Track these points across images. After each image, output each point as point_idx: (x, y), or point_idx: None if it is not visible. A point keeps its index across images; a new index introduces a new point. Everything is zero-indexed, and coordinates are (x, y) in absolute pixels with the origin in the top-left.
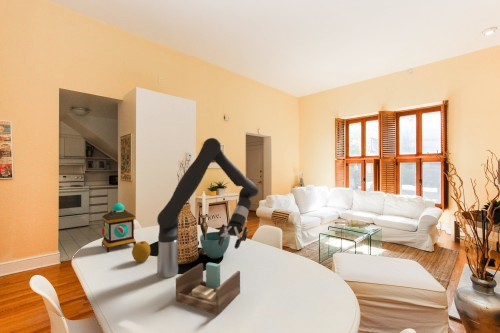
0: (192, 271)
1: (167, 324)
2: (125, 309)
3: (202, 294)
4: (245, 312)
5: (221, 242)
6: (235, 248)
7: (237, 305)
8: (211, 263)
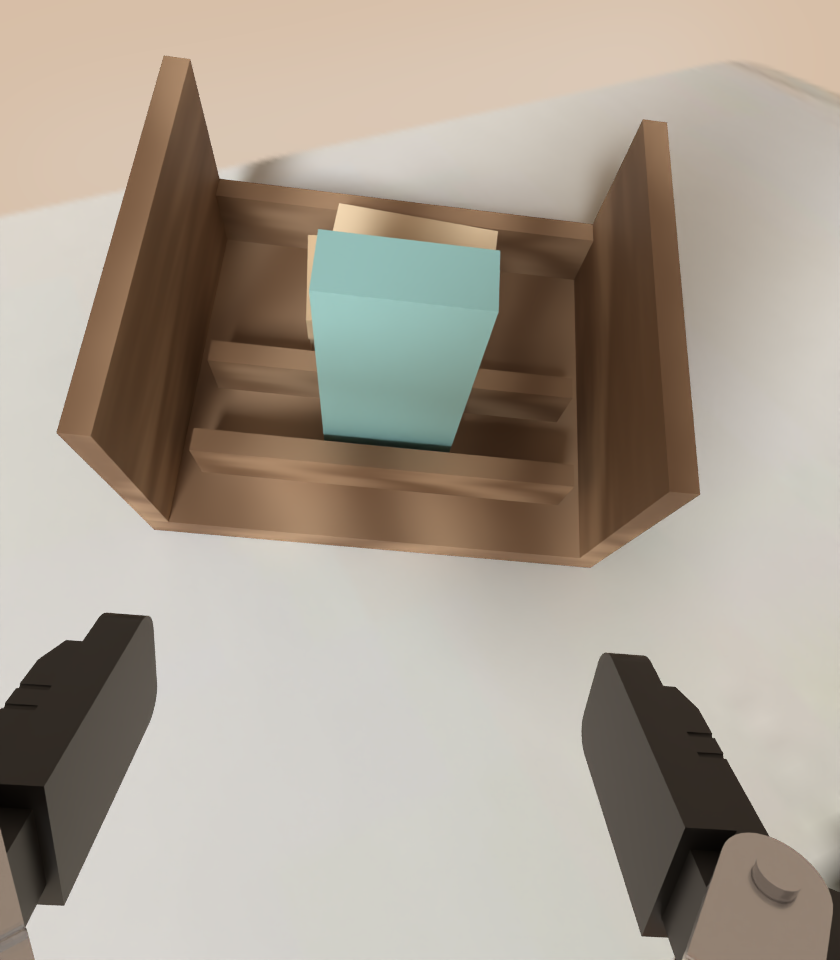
0: (647, 313)
1: (489, 138)
2: (822, 176)
3: (378, 213)
4: (48, 349)
5: (617, 745)
6: (155, 677)
7: None
8: (443, 288)
